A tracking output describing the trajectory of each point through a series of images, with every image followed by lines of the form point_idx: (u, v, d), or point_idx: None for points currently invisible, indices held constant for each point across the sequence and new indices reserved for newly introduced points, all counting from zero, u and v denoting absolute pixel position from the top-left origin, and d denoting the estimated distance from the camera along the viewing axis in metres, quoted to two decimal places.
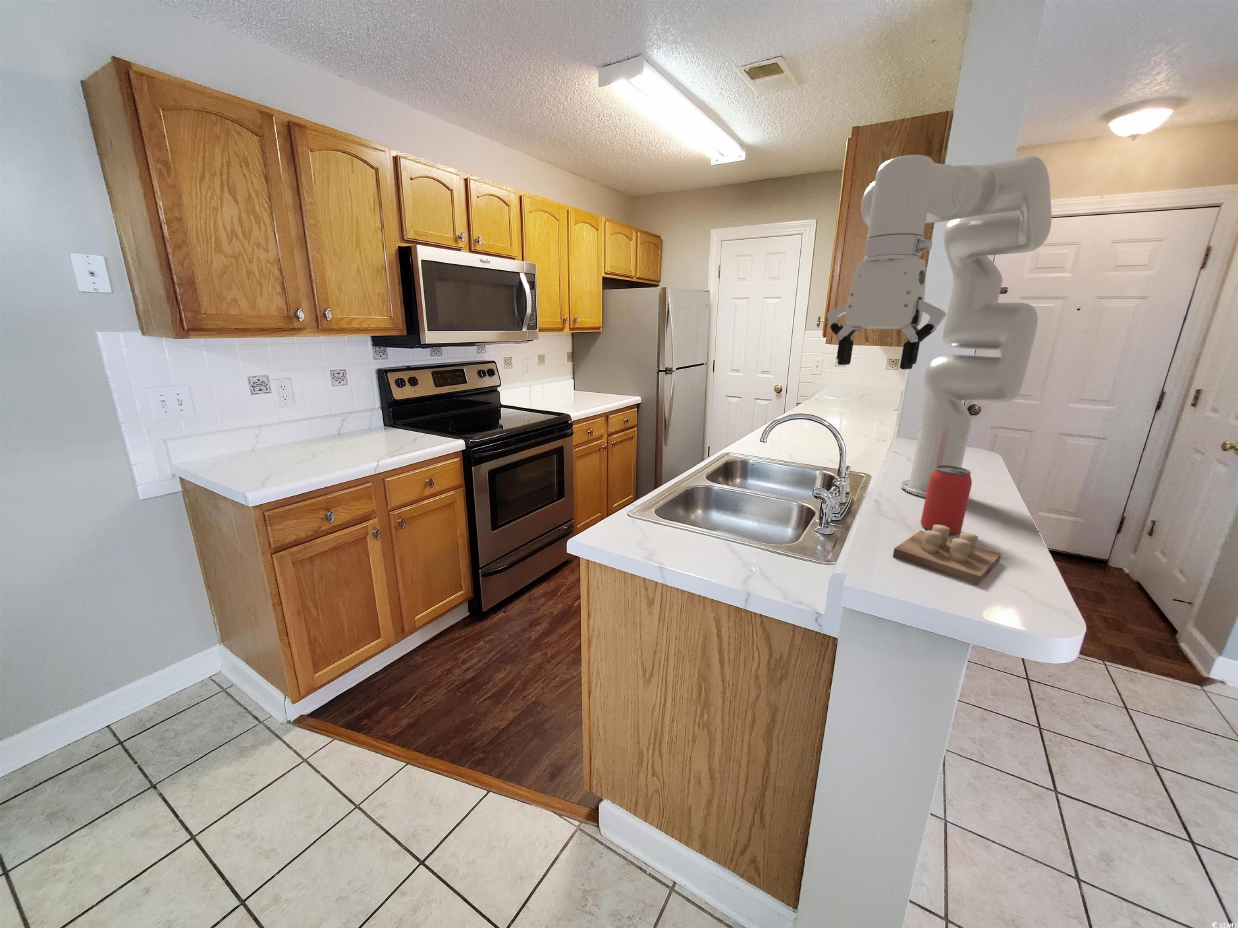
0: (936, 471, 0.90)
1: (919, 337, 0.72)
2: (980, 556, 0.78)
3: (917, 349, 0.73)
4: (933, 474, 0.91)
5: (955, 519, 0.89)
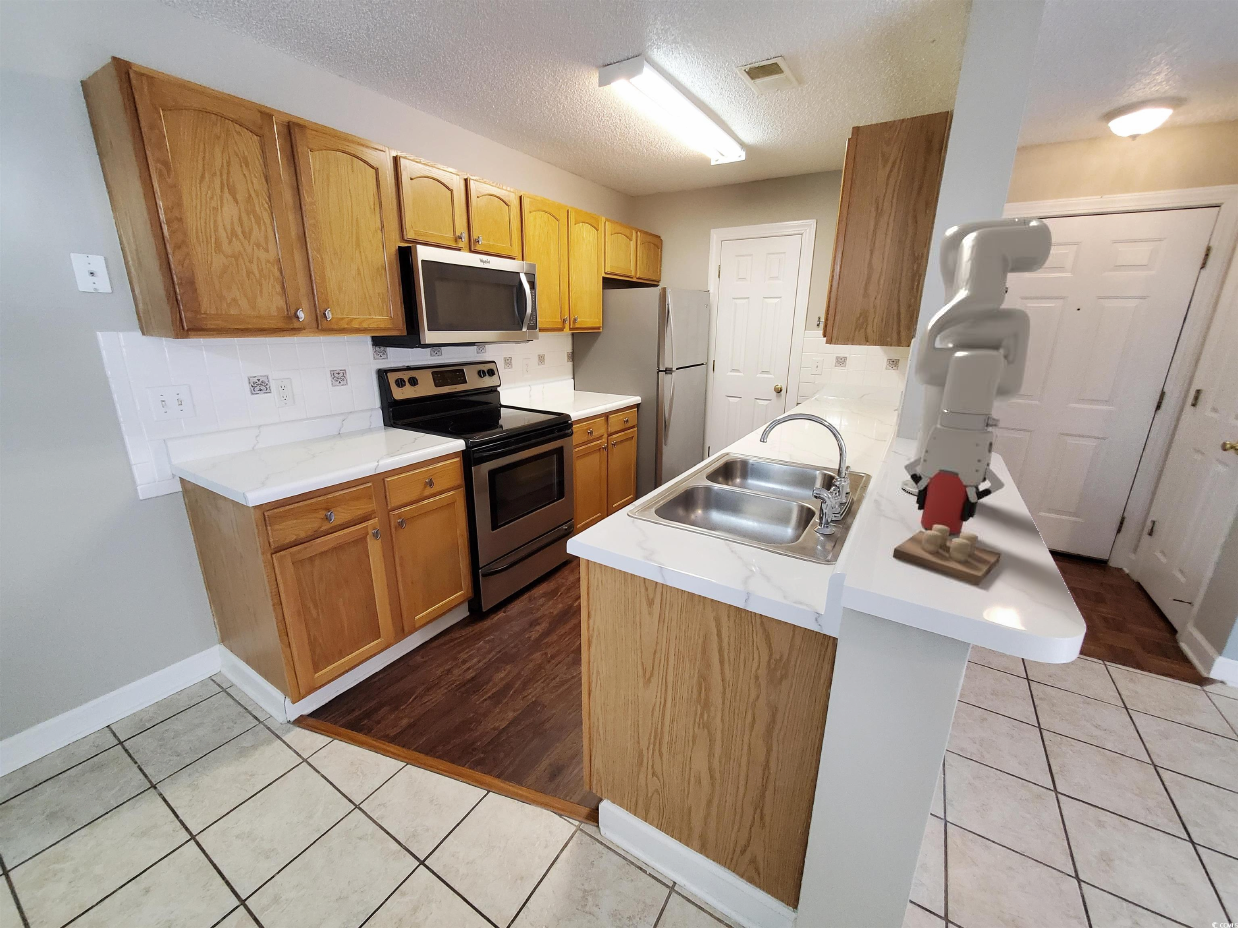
0: None
1: (978, 499, 0.87)
2: (980, 556, 0.78)
3: (976, 505, 0.88)
4: None
5: (955, 519, 0.89)
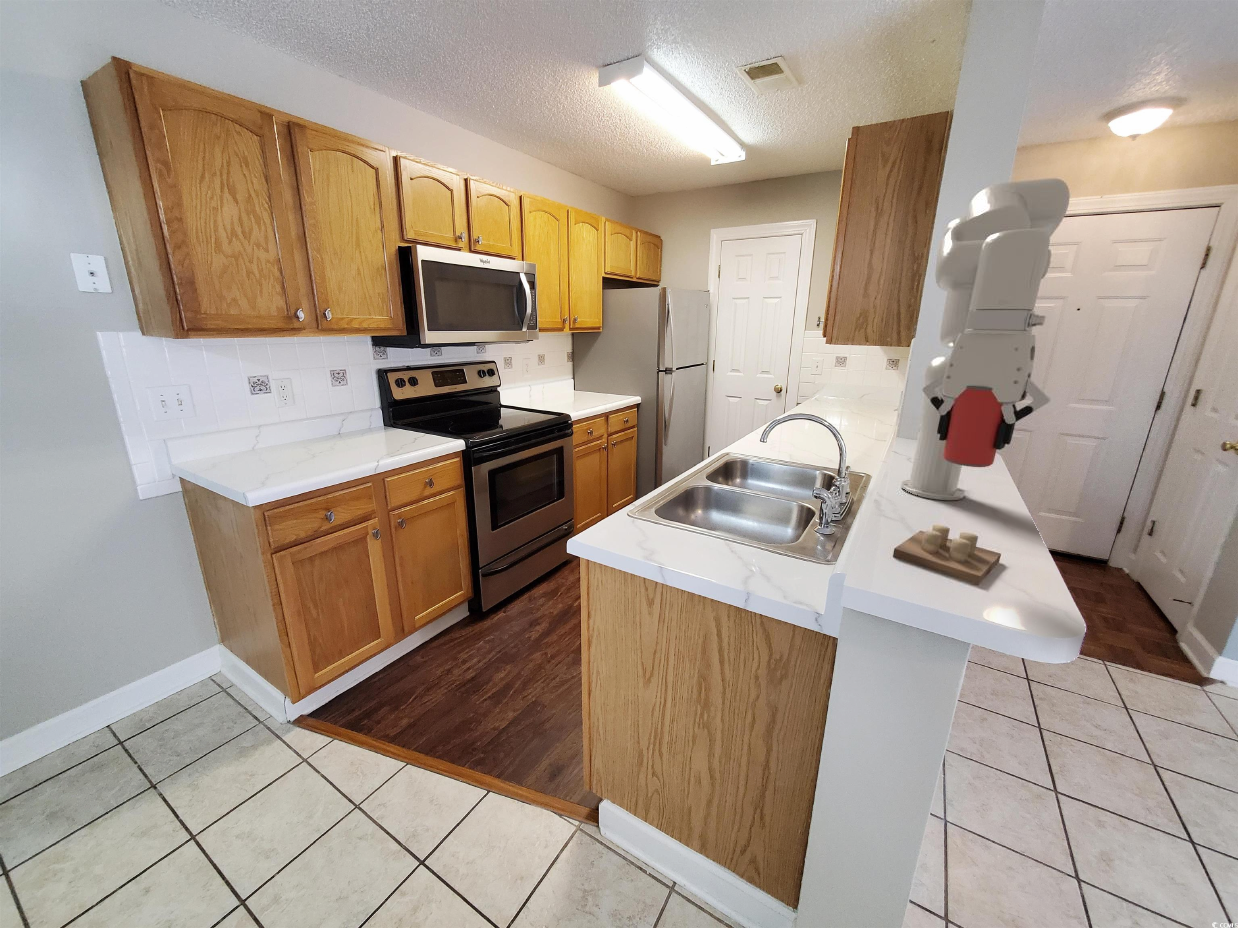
0: None
1: (1016, 420, 0.70)
2: (980, 556, 0.78)
3: (1012, 429, 0.72)
4: None
5: (987, 447, 0.72)
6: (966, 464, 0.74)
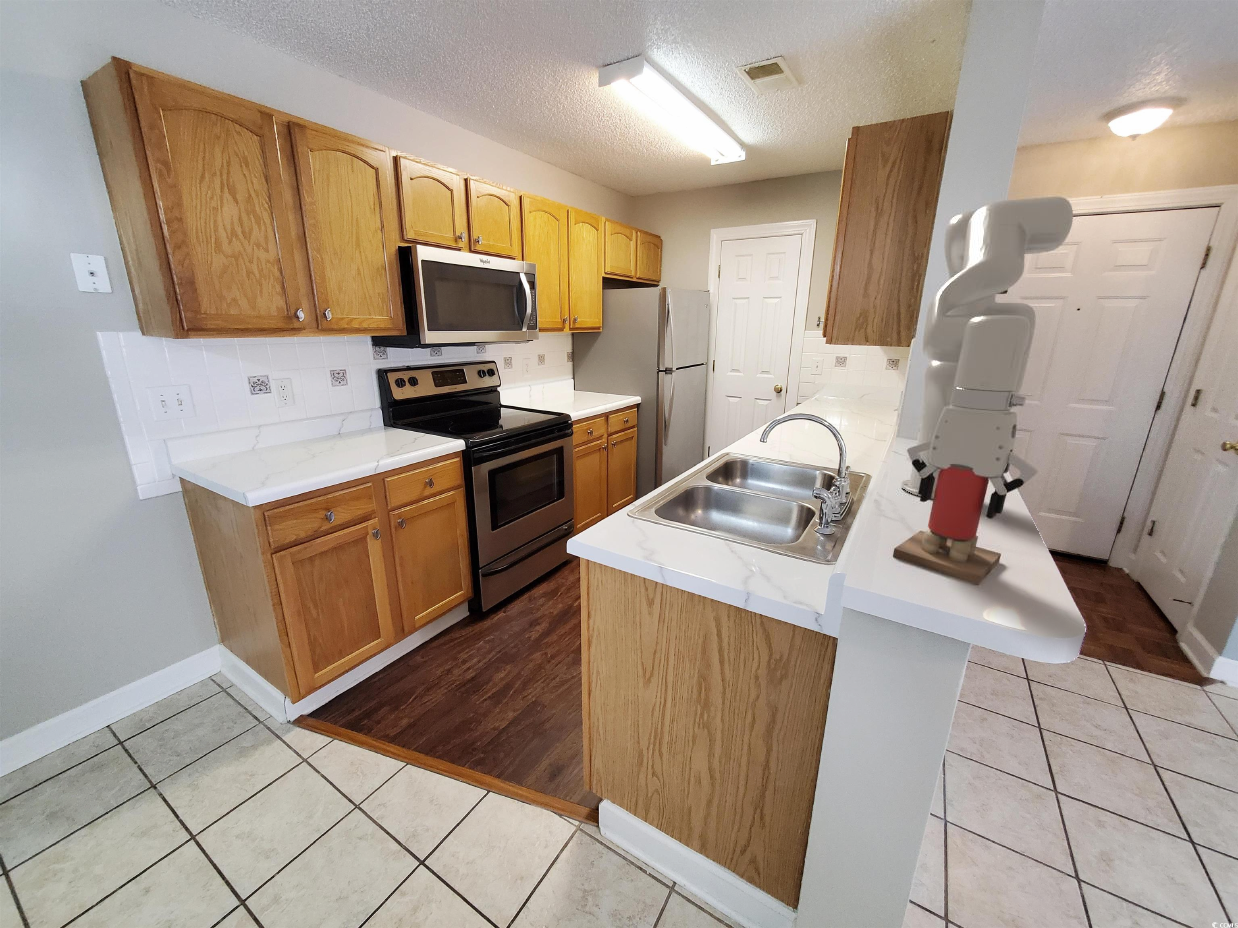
0: None
1: (1008, 490, 0.72)
2: (980, 556, 0.78)
3: (1004, 499, 0.74)
4: (943, 469, 0.77)
5: (969, 522, 0.76)
6: (949, 537, 0.77)
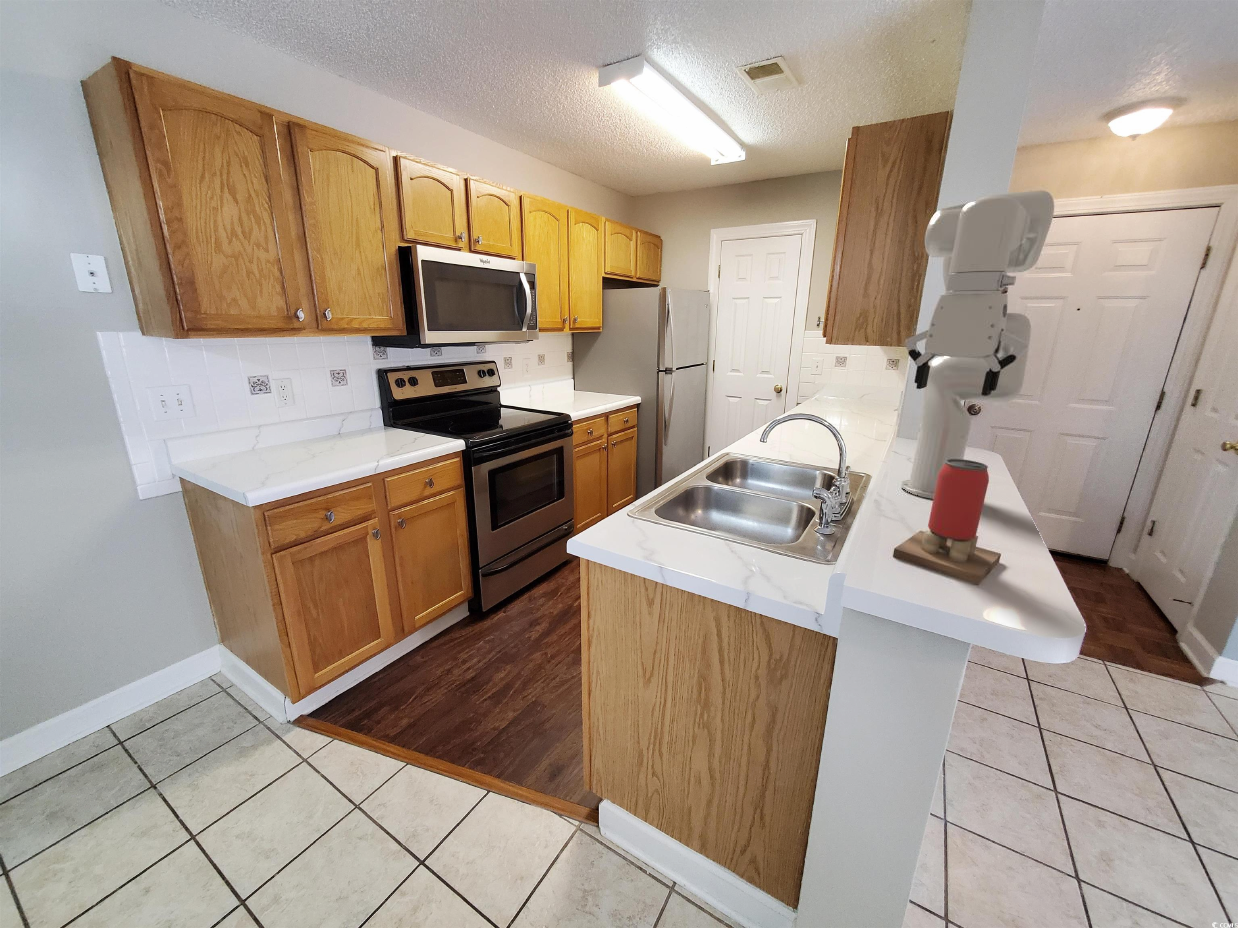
0: (947, 466, 0.77)
1: (1001, 366, 0.77)
2: (980, 556, 0.78)
3: (998, 377, 0.79)
4: (943, 469, 0.77)
5: (969, 522, 0.76)
6: (949, 537, 0.77)
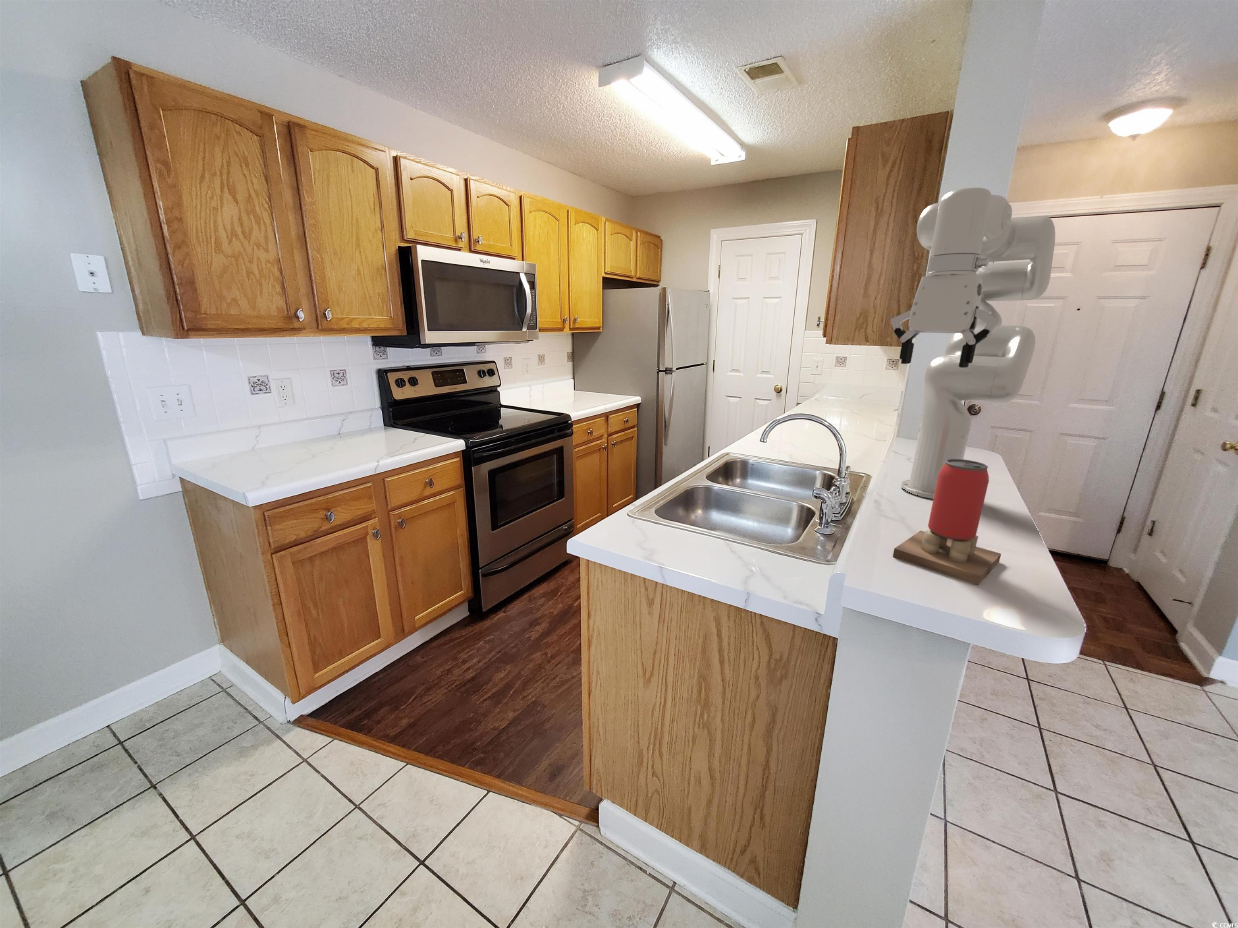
0: (947, 466, 0.77)
1: (976, 340, 0.85)
2: (980, 556, 0.78)
3: (974, 350, 0.87)
4: (943, 469, 0.77)
5: (969, 522, 0.76)
6: (949, 537, 0.77)
